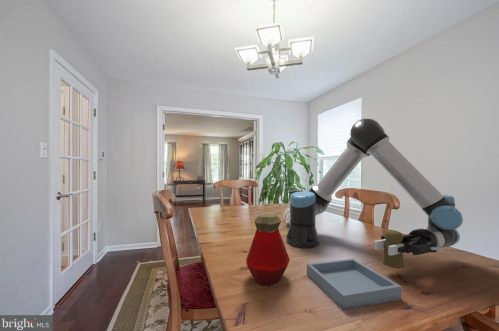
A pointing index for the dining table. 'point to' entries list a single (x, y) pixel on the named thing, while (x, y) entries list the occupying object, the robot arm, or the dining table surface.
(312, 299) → the dining table surface
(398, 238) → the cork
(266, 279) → the bottle
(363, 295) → the tray
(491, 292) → the dining table surface
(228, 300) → the dining table surface
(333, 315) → the dining table surface
